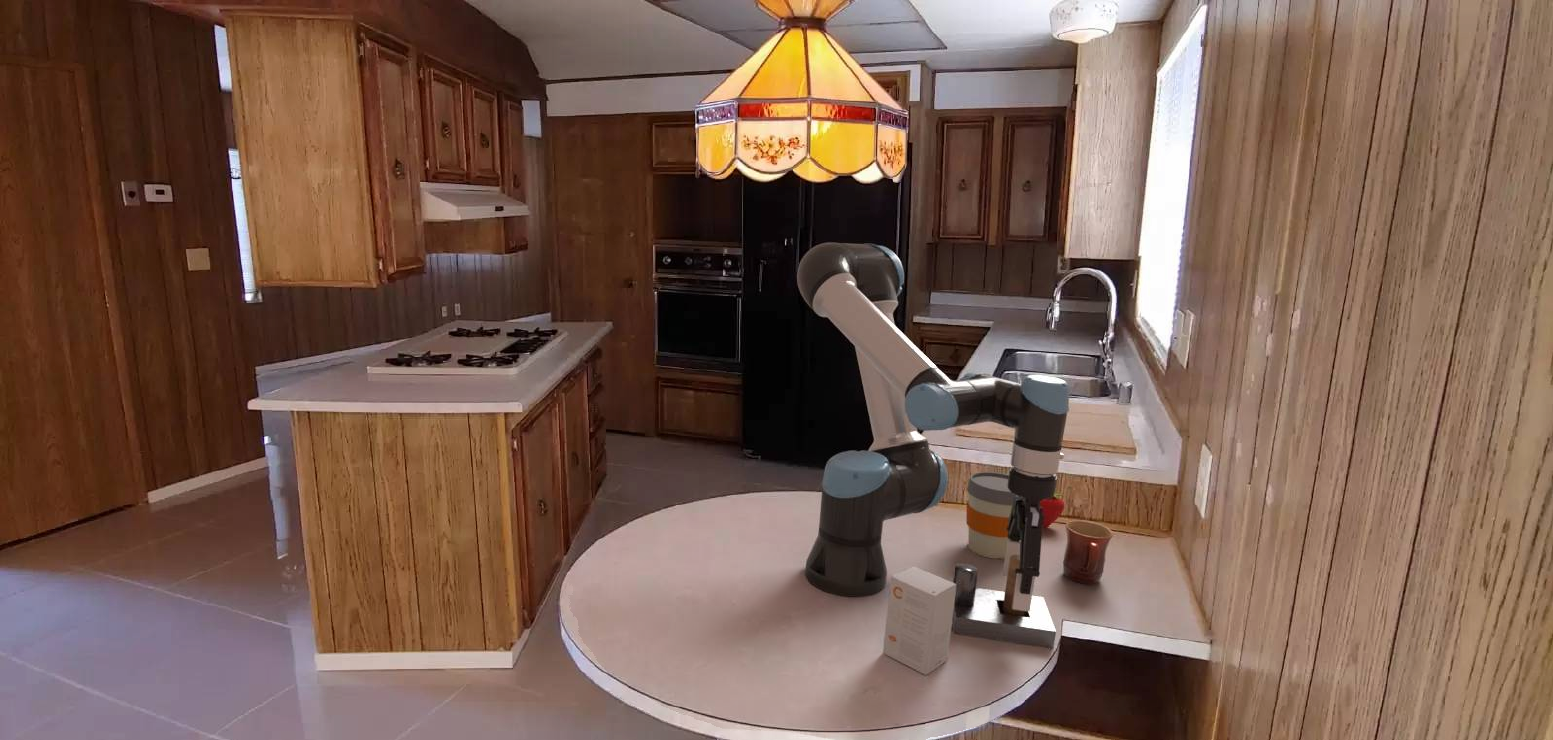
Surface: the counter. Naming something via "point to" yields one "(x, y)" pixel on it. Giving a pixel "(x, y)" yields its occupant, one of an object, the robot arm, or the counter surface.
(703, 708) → the counter surface
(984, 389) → the robot arm
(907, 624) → the small box
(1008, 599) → the wooden cylinder
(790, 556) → the counter surface
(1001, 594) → the square hole fixture
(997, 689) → the counter surface
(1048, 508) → the strawberry
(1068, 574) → the mug
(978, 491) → the reusable coffee cup
